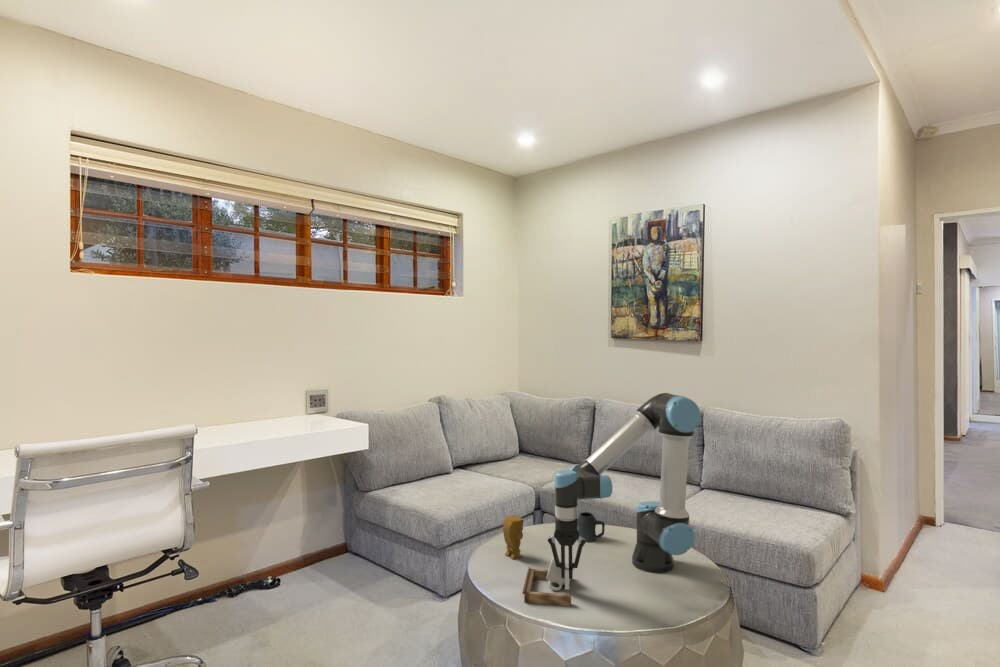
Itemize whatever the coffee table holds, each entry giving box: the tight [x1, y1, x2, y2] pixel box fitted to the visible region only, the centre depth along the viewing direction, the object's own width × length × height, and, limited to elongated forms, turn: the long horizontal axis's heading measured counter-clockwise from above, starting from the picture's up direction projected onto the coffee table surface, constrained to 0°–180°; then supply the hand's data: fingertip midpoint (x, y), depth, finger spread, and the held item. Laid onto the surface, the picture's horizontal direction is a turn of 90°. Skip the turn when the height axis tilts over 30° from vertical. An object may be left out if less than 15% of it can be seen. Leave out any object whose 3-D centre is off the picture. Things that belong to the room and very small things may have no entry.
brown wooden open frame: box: [522, 566, 573, 607], centre depth 185 cm, size 16×19×4 cm
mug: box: [577, 511, 606, 543], centre depth 229 cm, size 12×9×11 cm
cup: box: [545, 556, 574, 592], centre depth 188 cm, size 11×8×8 cm
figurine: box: [502, 514, 524, 561], centre depth 213 cm, size 7×7×15 cm
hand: (567, 587), depth 184 cm, fingers closed
